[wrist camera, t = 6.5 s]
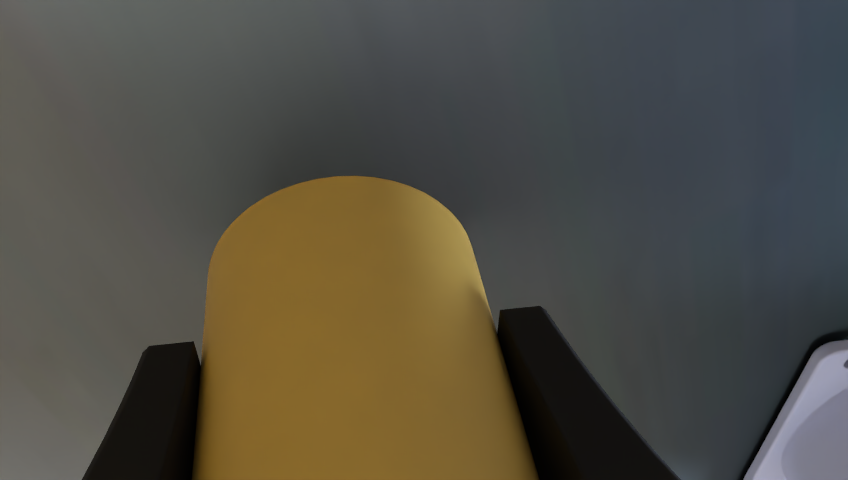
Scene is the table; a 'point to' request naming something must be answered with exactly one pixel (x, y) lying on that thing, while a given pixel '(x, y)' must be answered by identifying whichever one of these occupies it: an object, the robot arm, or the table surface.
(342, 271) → the candle
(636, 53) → the table surface
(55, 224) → the table surface
